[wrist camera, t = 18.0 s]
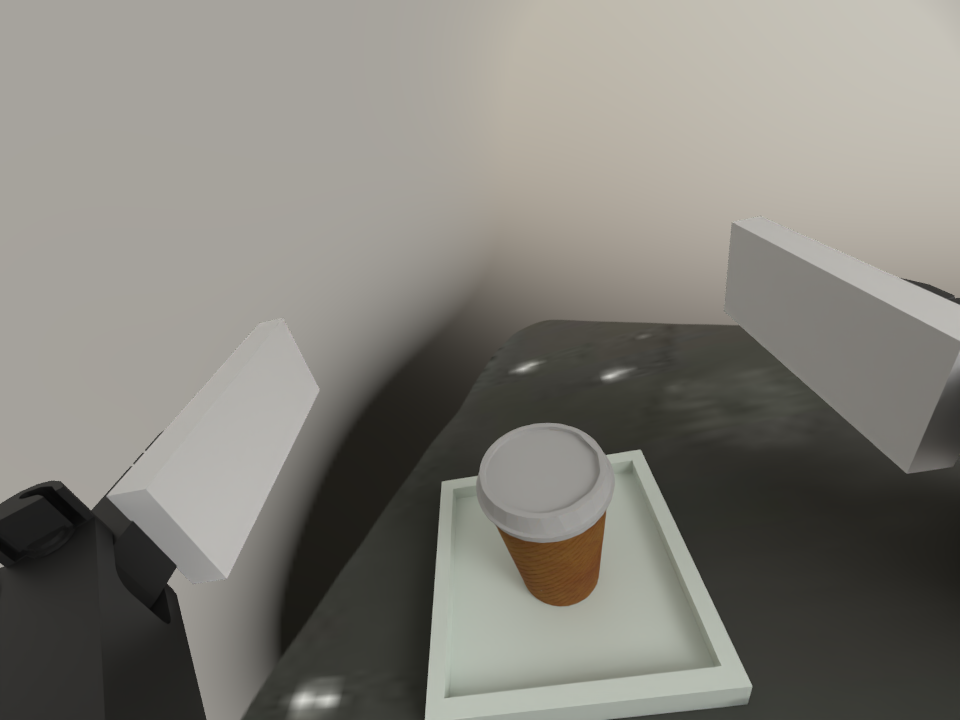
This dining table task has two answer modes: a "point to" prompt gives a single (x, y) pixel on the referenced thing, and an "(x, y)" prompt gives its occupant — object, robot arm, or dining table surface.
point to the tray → (576, 621)
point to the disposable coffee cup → (549, 507)
